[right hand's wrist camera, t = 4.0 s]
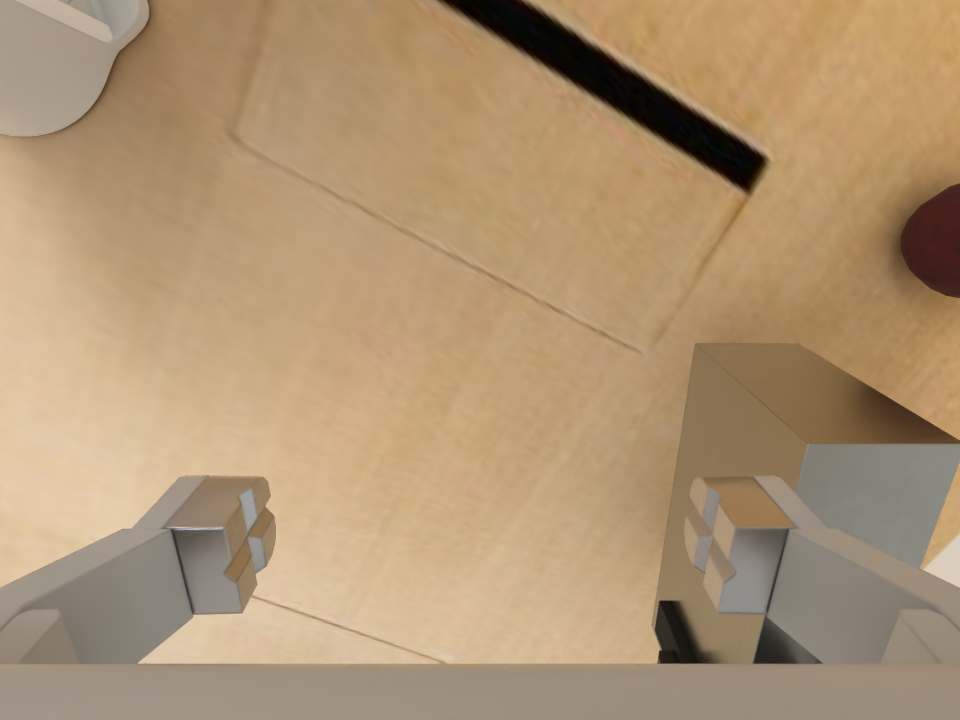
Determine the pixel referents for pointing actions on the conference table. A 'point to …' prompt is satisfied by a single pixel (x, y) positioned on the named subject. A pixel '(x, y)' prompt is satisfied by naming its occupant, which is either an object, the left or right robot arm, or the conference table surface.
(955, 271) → the potato
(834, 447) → the box
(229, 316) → the conference table surface
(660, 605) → the left robot arm
